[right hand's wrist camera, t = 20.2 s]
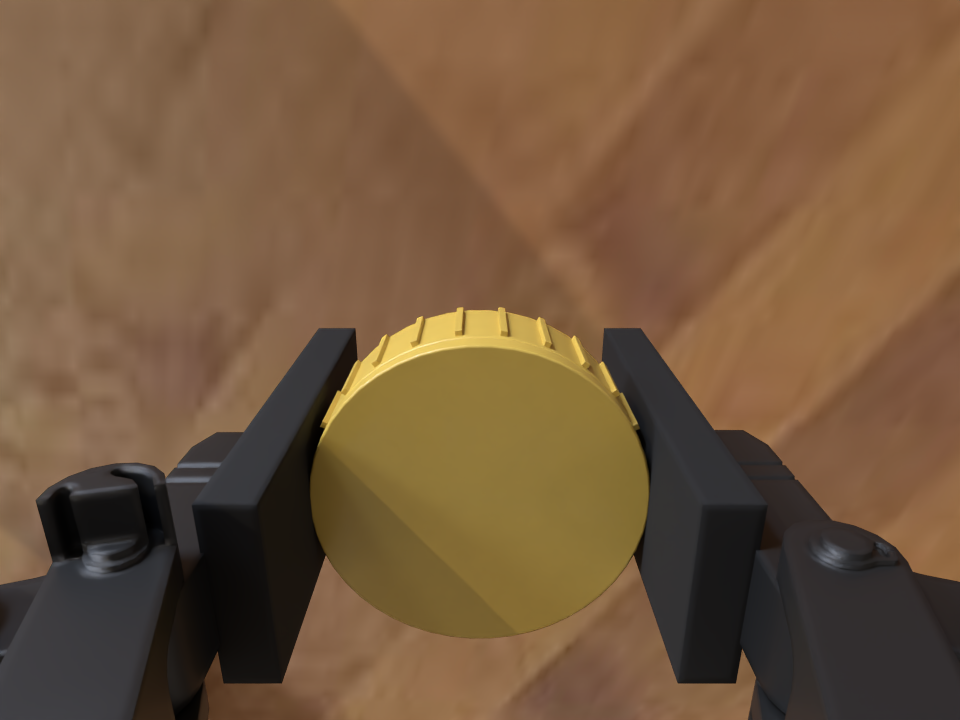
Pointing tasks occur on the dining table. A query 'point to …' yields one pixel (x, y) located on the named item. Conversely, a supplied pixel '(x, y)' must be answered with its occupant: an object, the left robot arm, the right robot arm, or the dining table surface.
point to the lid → (479, 476)
